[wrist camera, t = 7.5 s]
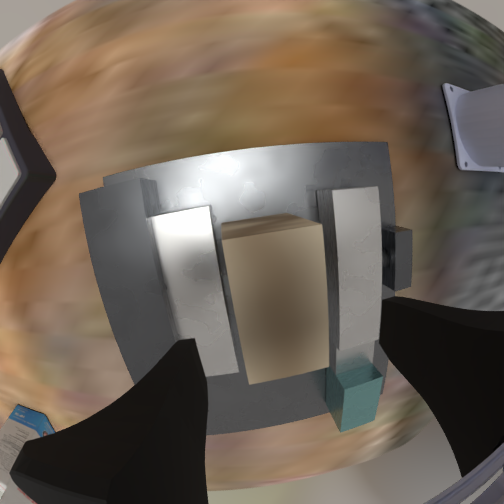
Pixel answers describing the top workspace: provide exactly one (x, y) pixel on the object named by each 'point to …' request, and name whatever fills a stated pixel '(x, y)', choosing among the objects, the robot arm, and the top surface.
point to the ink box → (18, 448)
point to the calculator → (18, 169)
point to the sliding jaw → (352, 301)
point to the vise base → (222, 262)
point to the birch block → (278, 294)
